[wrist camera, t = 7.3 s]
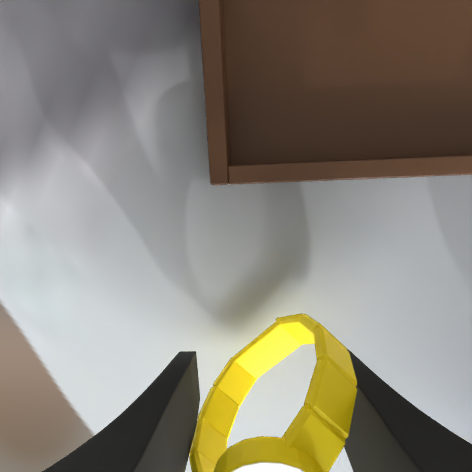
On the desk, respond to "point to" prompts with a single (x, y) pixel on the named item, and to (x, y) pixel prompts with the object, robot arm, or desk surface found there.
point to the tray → (336, 89)
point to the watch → (305, 423)
